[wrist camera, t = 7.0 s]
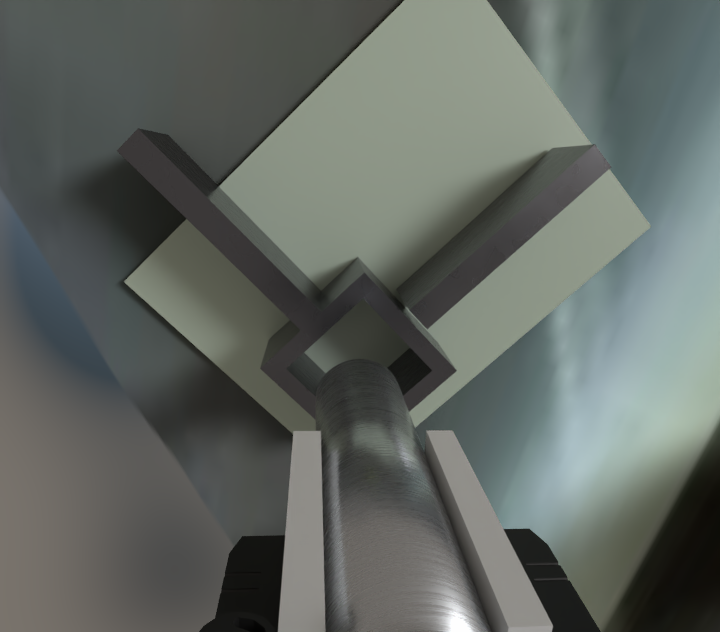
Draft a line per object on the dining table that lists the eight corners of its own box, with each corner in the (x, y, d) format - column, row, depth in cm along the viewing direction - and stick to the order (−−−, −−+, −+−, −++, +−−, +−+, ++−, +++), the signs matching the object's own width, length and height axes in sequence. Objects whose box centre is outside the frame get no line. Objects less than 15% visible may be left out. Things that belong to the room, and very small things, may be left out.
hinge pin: (428, 398, 20) (622, 798, 7) (355, 461, 20) (419, 934, 8) (361, 330, 19) (453, 657, 6) (286, 398, 19) (234, 825, 7)
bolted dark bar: (569, 170, 25) (614, 171, 21) (414, 309, 26) (430, 333, 23) (552, 147, 25) (594, 144, 21) (396, 289, 26) (409, 310, 22)
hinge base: (437, 342, 27) (457, 370, 23) (351, 418, 28) (356, 457, 24) (206, 94, 23) (183, 80, 19) (113, 192, 24) (73, 196, 20)
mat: (645, 225, 27) (651, 226, 26) (348, 479, 30) (348, 484, 29) (449, -44, 23) (451, -48, 22) (127, 279, 26) (123, 281, 25)
